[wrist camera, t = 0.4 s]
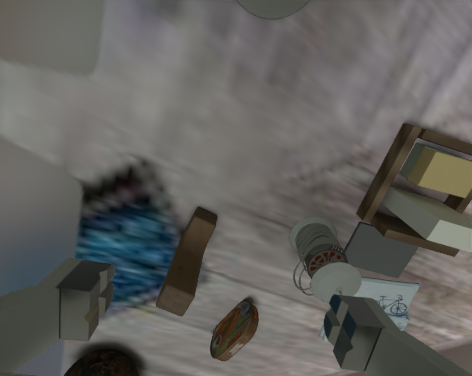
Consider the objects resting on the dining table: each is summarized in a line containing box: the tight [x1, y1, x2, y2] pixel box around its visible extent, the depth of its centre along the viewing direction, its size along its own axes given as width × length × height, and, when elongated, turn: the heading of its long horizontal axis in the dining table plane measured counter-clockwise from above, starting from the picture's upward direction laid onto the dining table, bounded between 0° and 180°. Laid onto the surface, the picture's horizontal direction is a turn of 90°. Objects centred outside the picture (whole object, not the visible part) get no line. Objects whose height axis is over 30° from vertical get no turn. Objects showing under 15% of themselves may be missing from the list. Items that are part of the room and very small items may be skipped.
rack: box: [356, 123, 472, 257], centre depth 46 cm, size 18×17×8 cm
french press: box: [289, 216, 362, 303], centre depth 43 cm, size 10×12×25 cm
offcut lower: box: [399, 144, 471, 178], centre depth 47 cm, size 6×9×3 cm, turn 74°
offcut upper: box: [407, 148, 472, 198], centre depth 45 cm, size 6×9×3 cm, turn 75°
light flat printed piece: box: [320, 277, 420, 342], centre depth 61 cm, size 19×20×2 cm
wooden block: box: [156, 207, 217, 316], centre depth 45 cm, size 9×4×18 cm, turn 152°
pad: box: [344, 222, 418, 278], centre depth 55 cm, size 10×14×1 cm
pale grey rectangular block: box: [381, 186, 472, 253], centre depth 45 cm, size 4×11×14 cm, turn 73°
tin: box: [210, 301, 259, 361], centre depth 58 cm, size 15×3×8 cm, turn 142°
